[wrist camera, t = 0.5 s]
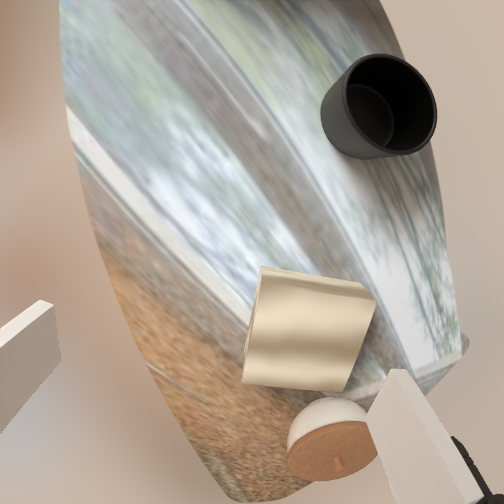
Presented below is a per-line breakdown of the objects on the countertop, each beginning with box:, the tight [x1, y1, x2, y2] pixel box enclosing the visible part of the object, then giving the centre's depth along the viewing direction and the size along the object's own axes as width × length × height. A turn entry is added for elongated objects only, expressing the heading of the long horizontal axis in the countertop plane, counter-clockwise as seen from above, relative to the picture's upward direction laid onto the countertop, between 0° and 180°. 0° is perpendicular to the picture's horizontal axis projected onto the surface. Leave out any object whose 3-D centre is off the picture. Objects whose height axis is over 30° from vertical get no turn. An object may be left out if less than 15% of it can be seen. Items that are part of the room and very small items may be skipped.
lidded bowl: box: [287, 397, 378, 481], centre depth 34 cm, size 13×13×11 cm
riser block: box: [241, 266, 377, 392], centre depth 33 cm, size 12×12×6 cm
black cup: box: [321, 54, 437, 159], centre depth 25 cm, size 9×12×9 cm
